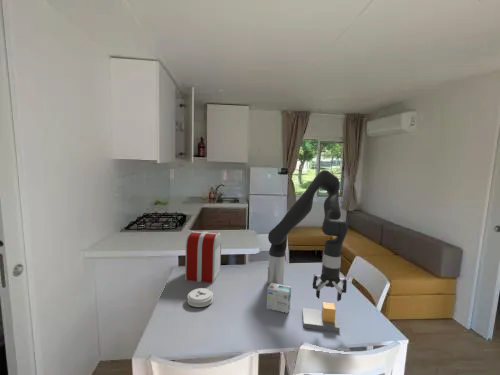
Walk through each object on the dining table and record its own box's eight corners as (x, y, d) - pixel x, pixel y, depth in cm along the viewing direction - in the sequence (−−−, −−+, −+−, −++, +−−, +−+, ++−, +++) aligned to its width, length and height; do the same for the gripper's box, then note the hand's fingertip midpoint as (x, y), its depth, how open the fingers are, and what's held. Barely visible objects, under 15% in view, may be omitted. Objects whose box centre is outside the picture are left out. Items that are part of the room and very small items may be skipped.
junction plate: (303, 327, 113) (303, 323, 113) (302, 311, 125) (302, 307, 125) (339, 332, 111) (339, 327, 111) (334, 315, 123) (334, 311, 123)
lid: (199, 292, 139) (199, 283, 139) (218, 299, 133) (218, 290, 133) (182, 303, 128) (182, 294, 128) (201, 311, 122) (202, 301, 122)
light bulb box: (290, 306, 129) (291, 285, 128) (287, 314, 123) (289, 292, 122) (269, 302, 133) (270, 281, 132) (266, 309, 126) (267, 287, 125)
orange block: (321, 314, 120) (322, 302, 120) (332, 315, 119) (333, 303, 119) (322, 320, 115) (323, 308, 115) (334, 322, 115) (335, 309, 114)
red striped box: (194, 268, 169) (195, 228, 166) (220, 271, 166) (222, 230, 164) (184, 280, 153) (185, 235, 150) (213, 283, 150) (214, 237, 147)
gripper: (346, 262, 117) (343, 297, 119) (314, 259, 119) (311, 292, 121) (350, 269, 109) (346, 306, 111) (315, 265, 112) (312, 301, 114)
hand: (328, 299), depth 116 cm, fingers open, 8 cm apart
